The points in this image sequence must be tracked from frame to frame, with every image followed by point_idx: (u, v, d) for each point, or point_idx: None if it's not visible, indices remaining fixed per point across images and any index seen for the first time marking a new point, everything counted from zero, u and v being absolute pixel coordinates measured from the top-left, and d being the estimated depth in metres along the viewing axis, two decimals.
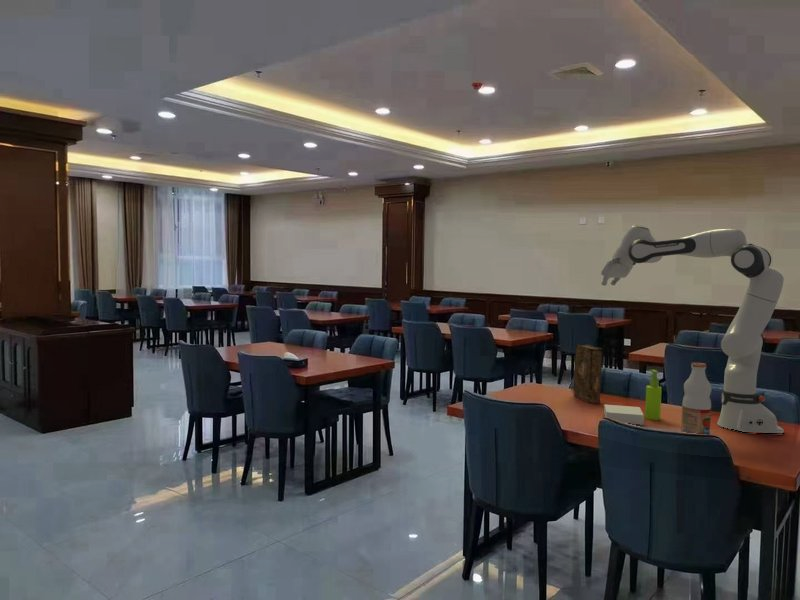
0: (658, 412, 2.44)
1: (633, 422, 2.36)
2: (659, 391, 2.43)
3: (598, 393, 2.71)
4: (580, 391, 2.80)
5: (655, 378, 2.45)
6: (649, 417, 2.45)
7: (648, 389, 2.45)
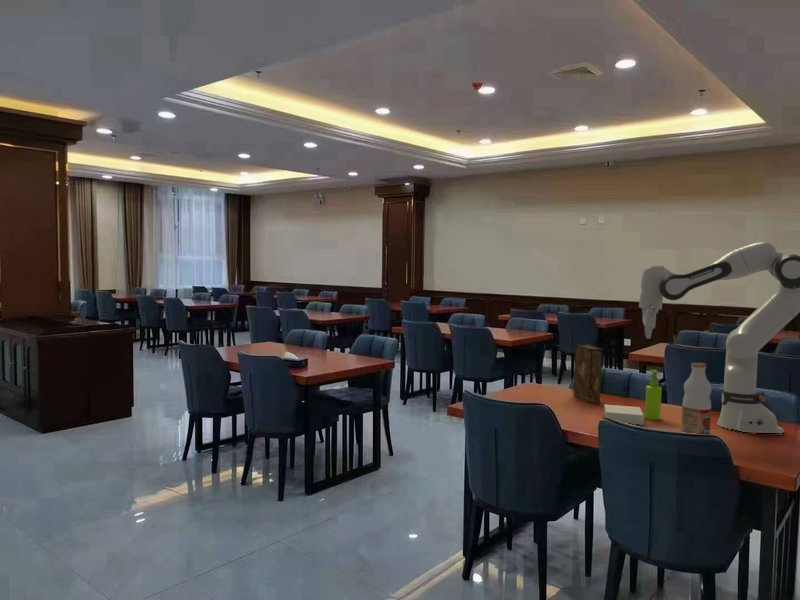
0: (658, 412, 2.44)
1: (633, 422, 2.36)
2: (659, 391, 2.43)
3: (598, 393, 2.71)
4: (580, 391, 2.80)
5: (655, 378, 2.45)
6: (649, 417, 2.45)
7: (648, 389, 2.45)
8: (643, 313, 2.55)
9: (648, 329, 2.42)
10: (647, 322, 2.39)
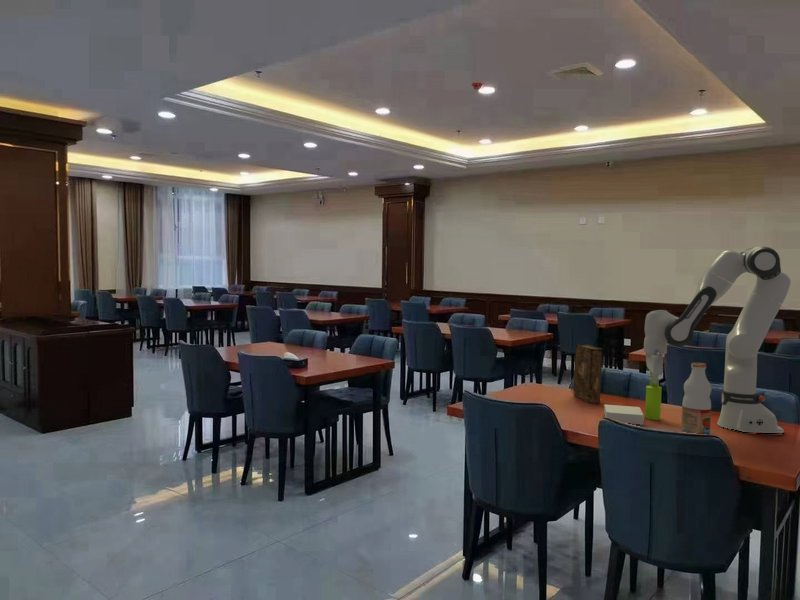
0: (658, 412, 2.44)
1: (633, 422, 2.36)
2: (659, 391, 2.43)
3: (598, 393, 2.71)
4: (580, 391, 2.80)
5: None
6: (649, 417, 2.45)
7: (648, 389, 2.45)
8: (647, 356, 2.54)
9: (654, 374, 2.42)
10: (654, 369, 2.37)
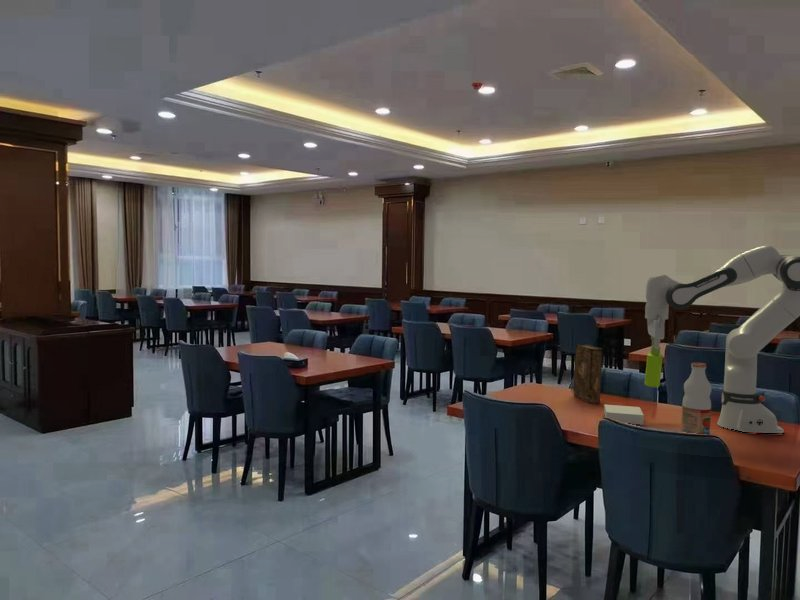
0: (658, 379, 2.45)
1: (633, 422, 2.36)
2: (660, 359, 2.43)
3: (598, 393, 2.71)
4: (580, 391, 2.80)
5: None
6: (649, 384, 2.46)
7: (649, 357, 2.45)
8: (648, 323, 2.53)
9: (656, 339, 2.41)
10: (656, 333, 2.36)
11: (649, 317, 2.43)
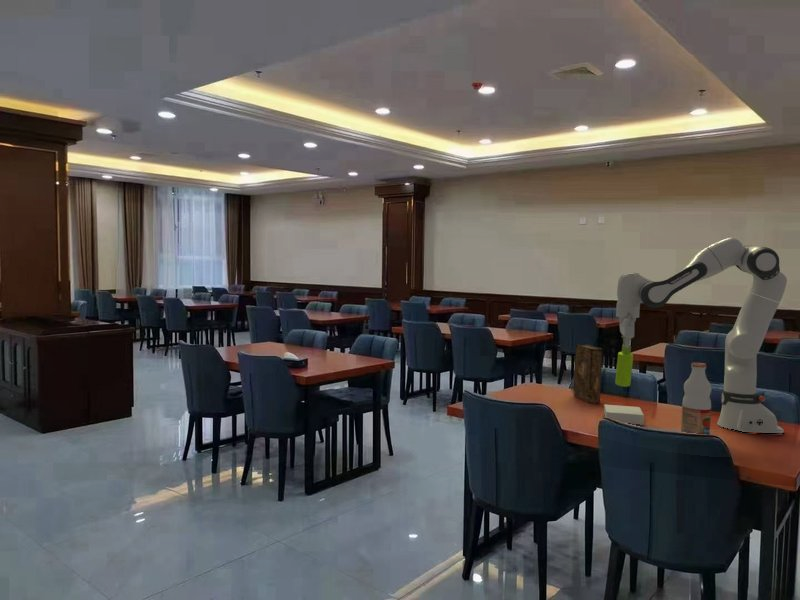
0: (629, 379, 2.42)
1: (633, 422, 2.36)
2: (630, 358, 2.40)
3: (598, 393, 2.71)
4: (580, 391, 2.80)
5: None
6: (619, 384, 2.43)
7: (620, 356, 2.41)
8: (620, 322, 2.50)
9: (626, 338, 2.37)
10: (626, 332, 2.32)
11: (620, 315, 2.39)
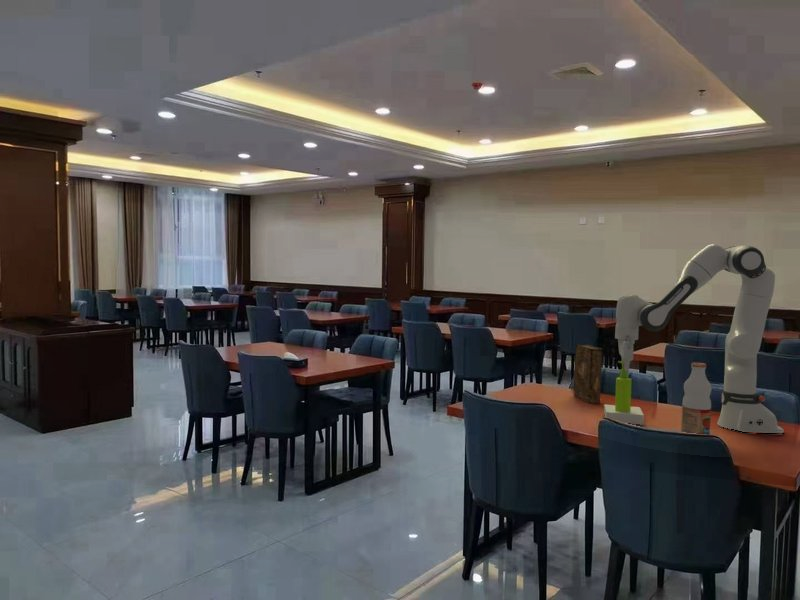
0: (628, 404, 2.39)
1: (633, 422, 2.36)
2: (629, 383, 2.39)
3: (598, 393, 2.71)
4: (580, 391, 2.80)
5: None
6: (619, 409, 2.40)
7: (618, 381, 2.40)
8: (619, 343, 2.50)
9: (626, 361, 2.36)
10: (625, 354, 2.33)
11: (619, 337, 2.40)
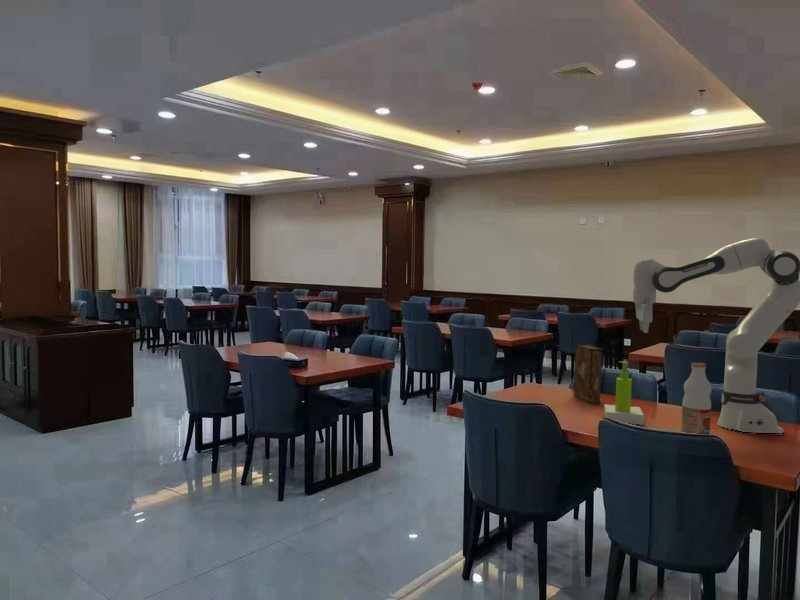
0: (628, 404, 2.39)
1: (633, 422, 2.36)
2: (629, 383, 2.39)
3: (598, 393, 2.71)
4: (580, 391, 2.80)
5: (625, 370, 2.40)
6: (619, 410, 2.40)
7: (618, 381, 2.40)
8: (636, 308, 2.56)
9: (645, 323, 2.41)
10: (644, 316, 2.38)
11: (637, 301, 2.45)
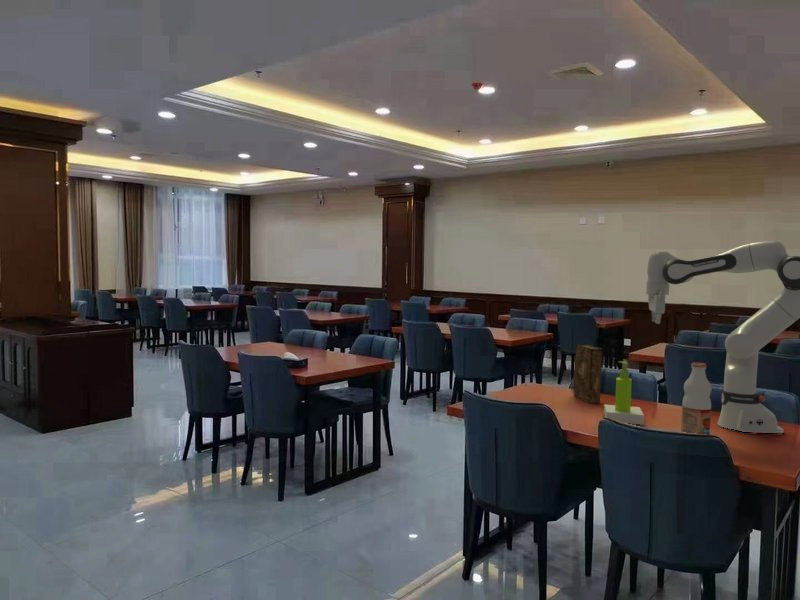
0: (628, 404, 2.39)
1: (633, 422, 2.36)
2: (629, 383, 2.39)
3: (598, 393, 2.71)
4: (580, 391, 2.80)
5: (625, 370, 2.40)
6: (619, 410, 2.40)
7: (618, 381, 2.40)
8: (649, 300, 2.60)
9: (657, 314, 2.46)
10: (657, 307, 2.43)
11: (650, 292, 2.49)
